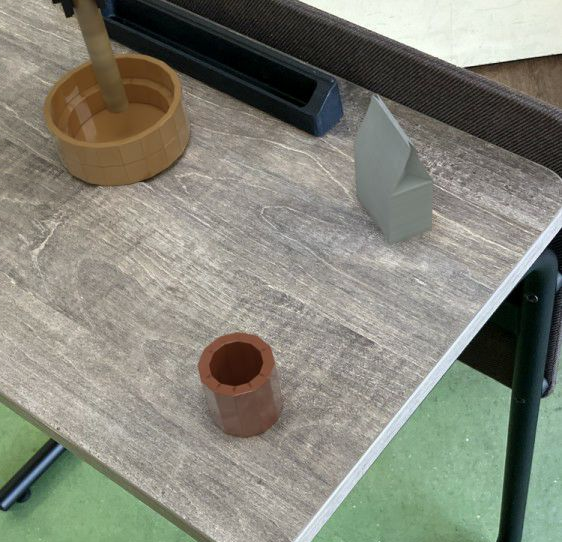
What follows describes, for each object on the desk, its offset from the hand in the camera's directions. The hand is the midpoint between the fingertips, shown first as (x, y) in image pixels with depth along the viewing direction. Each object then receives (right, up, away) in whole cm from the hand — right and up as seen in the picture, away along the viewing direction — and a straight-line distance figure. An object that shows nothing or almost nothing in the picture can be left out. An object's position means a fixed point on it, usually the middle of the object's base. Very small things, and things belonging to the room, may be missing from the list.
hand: (84, 2), depth 76 cm
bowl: (+1, -8, +12) cm, 15 cm away
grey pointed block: (+25, -16, +4) cm, 30 cm away
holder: (+13, -32, -6) cm, 35 cm away
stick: (+1, -6, +9) cm, 11 cm away
